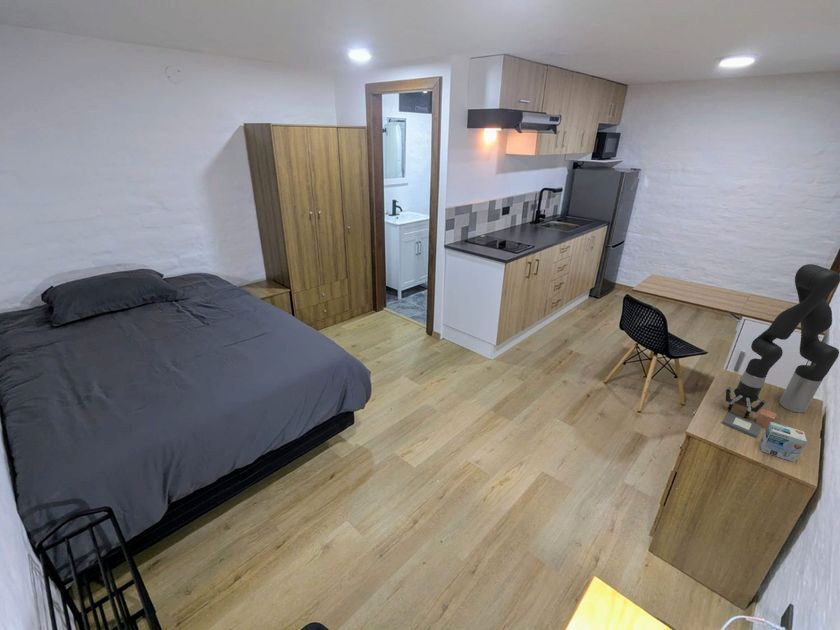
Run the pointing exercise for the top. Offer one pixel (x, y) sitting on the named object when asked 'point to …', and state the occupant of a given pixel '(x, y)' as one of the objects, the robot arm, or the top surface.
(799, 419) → the top surface
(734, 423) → the plate
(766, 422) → the rust block
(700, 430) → the top surface
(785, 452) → the light bulb box
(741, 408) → the walnut block
